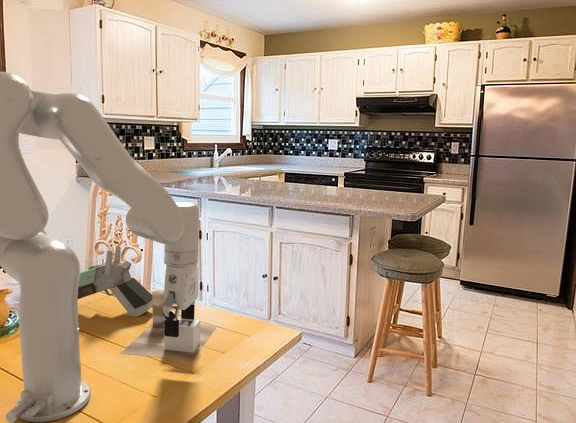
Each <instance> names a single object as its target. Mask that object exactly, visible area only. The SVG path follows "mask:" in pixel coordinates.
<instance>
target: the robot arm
mask: <svg viewBox="0 0 576 423" xmlns="http://www.w3.org/2000/svg"><path fill="white" fill-rule="evenodd" d="M20 134H22V135H27V136H32V137H37V138H44V139H49V140H51V139H52V140H59V141H60V142H61V143H62V145H64V147H65V148H66V149H67V151H68V152H69V154H71V156H72V157H73V158H74V160H76V162H77V163H78V164H79V166H80V167H81V168H82V169H83V171H84V172H85V173H86V174H87V176H88V177H89V179H91V181H92V182H93V183H95V184H96V185H97V186H98V187H99V188H100V189H102V190H103V191H105V192H107V193H109V194H111V195H112V196H114V197H116V198H117V199H119V200H121V201H122V202H123V203H125V204H126V205H127V206H129V207H130V208H129V210H128V211H127V214H126V216H125V224H126V227H127V228H128V230H129V231H130V232H131V233H132V234H134V235H136V236H137V237H141V238H143V239H146V240H150V241H153V242H156V243H160V244H162V245H164V251H163V252H164V254H163V256H164V257H163V260H164V261H163V263H164V264H165V266H166V268H165V274H164V285H163V286H164V287H163V288H164V289H163V290H164V304H163V307H162V308H163V316H164V320H165V322H164V335H165V336H168V337H178V336H179V320H178V318H179V315H180V318H182V319H192V320H195V308H196V306H195V304H196V300H197V299H198V297H199V269H198V264H199V236H200V232H199V231H200V208H199V206H198V205H197V204H196V203H193V202H189V201H188V202H186V201H175V200H174V198H173V197H172V195H170V193H169V192H168V191H167V189H166V188H165V187H164V186H163V185H162V184H161V183H160V182H159V181H158V180H157V179H156V178H155V177H154V176H153V175H152V174H150V173H149V172H148V171H147V170H146V169H145V167H143V166H142V165H141V164H140V163H138V162H137V161H136V160H135V159H134V157H132V156H131V154H130V153H129V152H128V151H127V149H126V148H125V146H124V145H123V144H122V142H121V141H120V140H119V138H118V137H117V135H116V133H115V132H114V131H113V129H112V128H111V127H110V125H109V124H108V122H107V121H106V119H105V118H104V117H103V116H102V114H101V113H100V112H99V110H98V109H97V107H96V106H95V104H94V103H93V102H92V101H91V100H90V99H88V98H87V97H85V96H84V95H82V94H79V93H72V92H71V93H70V92H67V93H48V92H43V91H41V90H40V91H39V90H36V89H31V88H30V86H29V84H27V82H26V81H25V80H24V79H22V78H21V77H20V76H18V75H16V74H14V73H11V72H7V71H0V267H1V269H2V270H3V271H4V272H5V273H6V274H7V275H8V276H10V277H11V278H12V279H13V280H15V281H16V282H18V284H19V287H20V288H19V291H20V293H19V294H20V295H19V302H18V328H19V340H20V341H19V342H20V352H21V354H20V355H21V364H22V366H21V367H22V381H23V391H21V392H20V396H19V397H18V398H17V400H16V402H15V406H14V407H13V408H12V409H11V410H9V411H8V412H7V413H6V414H5V419H6V421H7V422H8V423H15V422H16V421H17V420H19V419H21V420H23V421H26V422H30V423H31V422H32V423H46V422H51V421H57V420H60V419H63V418H66V417H68V416H70V415H72V414H74V413H76V412H78V411H79V410H81V409H82V408H83V407H85V406H86V405H87V403H88V402H89V400H90V399H91V396H92V392H91V391H92V390H91V386H90V385H89V384H88V383H87V382H85V381H83V380H82V371H81V370H82V366H81V351H80V350H81V349H80V348H81V346H80V327H79V326H80V325H79V306H78V304H79V303H78V301H79V299H78V287H79V280H80V272H81V266H80V265H81V264H80V261H79V258H78V256H77V254H76V252H75V251H74V250H73V249H72V248H71V247H70V246H68V244H66V243H64V242H62V241H60V240H58V239H55V238H53V237H52V236H51V237H50V236H49V235H48V234H47V232H46V230H45V229H46V226H47V224H48V221H49V208H48V206H47V203H46V202H45V199H44V197H43V195H42V193H41V192H40V190H39V188H38V186H37V185H36V183H35V181H34V179H33V177H32V174H31V173H30V170H29V169H28V167H27V164H26V161H25V159H24V157H23V154H22V152H21V149H20V144H19V143H20V141H19V139H20V137H19V136H20ZM173 311H174V312H173ZM180 311H181V312H180Z"/></svg>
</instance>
